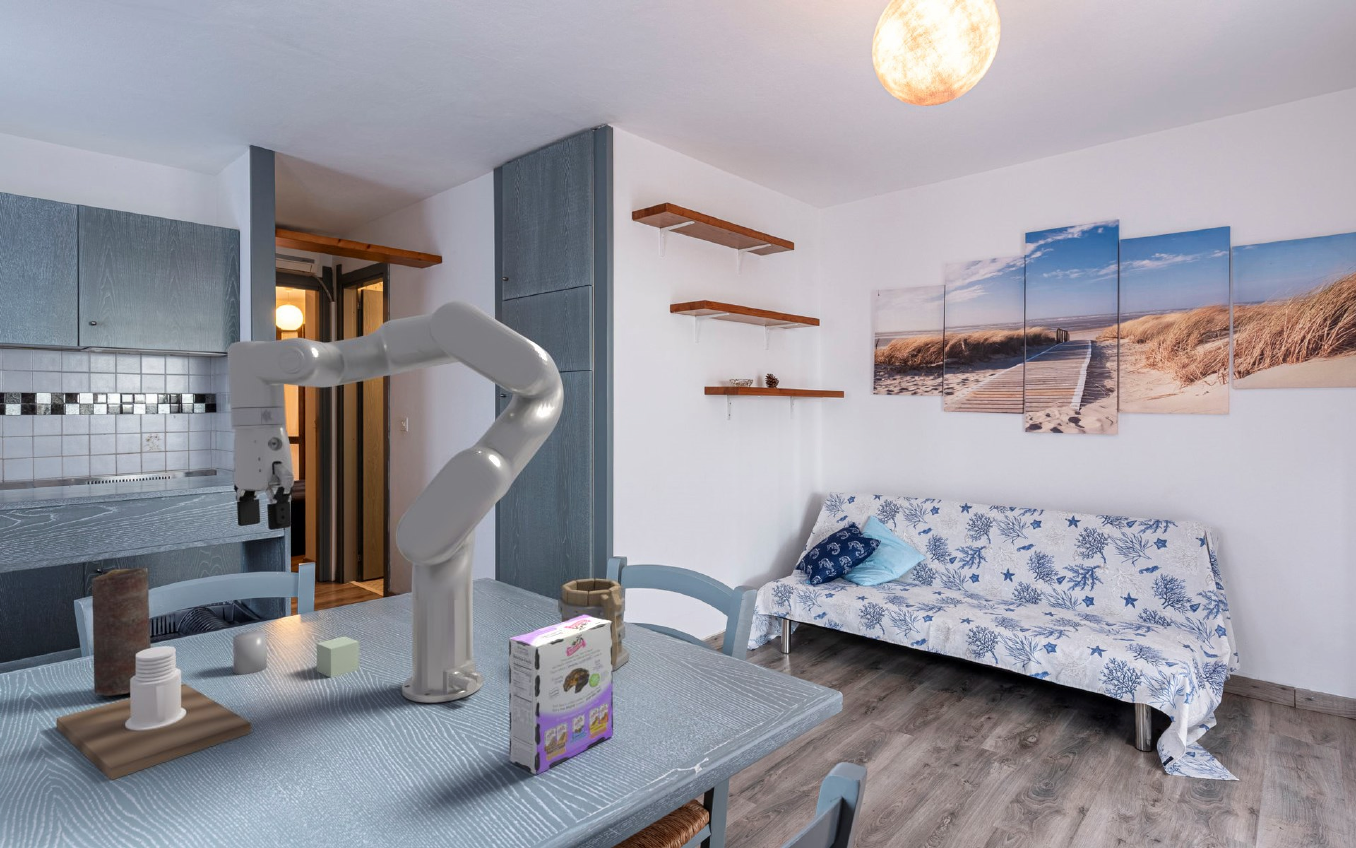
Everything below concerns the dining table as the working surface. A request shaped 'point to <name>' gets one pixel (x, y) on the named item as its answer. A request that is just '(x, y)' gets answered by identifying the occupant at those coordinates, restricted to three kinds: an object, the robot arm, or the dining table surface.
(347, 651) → the sage block
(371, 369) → the robot arm
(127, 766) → the walnut board
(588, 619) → the candy box
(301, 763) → the dining table surface
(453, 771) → the dining table surface
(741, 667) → the dining table surface
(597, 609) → the tankard
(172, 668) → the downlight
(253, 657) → the grey rounded cylinder
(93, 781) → the dining table surface
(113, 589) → the brown textured cylinder
